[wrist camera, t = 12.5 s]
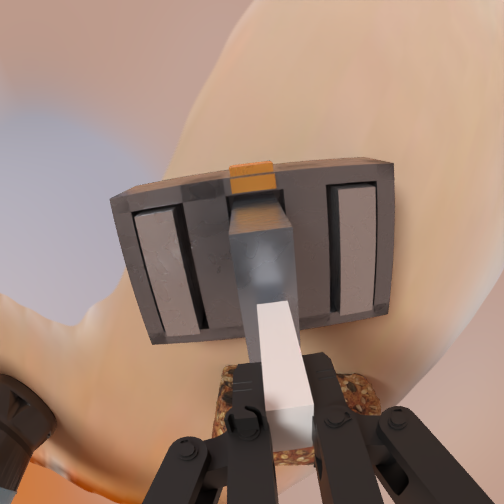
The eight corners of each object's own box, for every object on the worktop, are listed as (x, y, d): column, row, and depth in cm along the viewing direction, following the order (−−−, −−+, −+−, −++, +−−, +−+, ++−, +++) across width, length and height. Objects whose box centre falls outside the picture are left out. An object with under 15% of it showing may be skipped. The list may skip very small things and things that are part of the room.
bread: (367, 368, 35) (393, 426, 26) (338, 419, 39) (354, 472, 29) (221, 356, 33) (216, 425, 24) (211, 411, 37) (206, 472, 27)
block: (234, 196, 23) (228, 235, 14) (272, 191, 23) (292, 226, 14) (248, 296, 27) (252, 375, 17) (282, 292, 27) (301, 369, 17)
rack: (165, 309, 30) (149, 351, 24) (134, 179, 26) (102, 193, 19) (365, 284, 30) (392, 320, 24) (363, 150, 25) (399, 156, 19)
